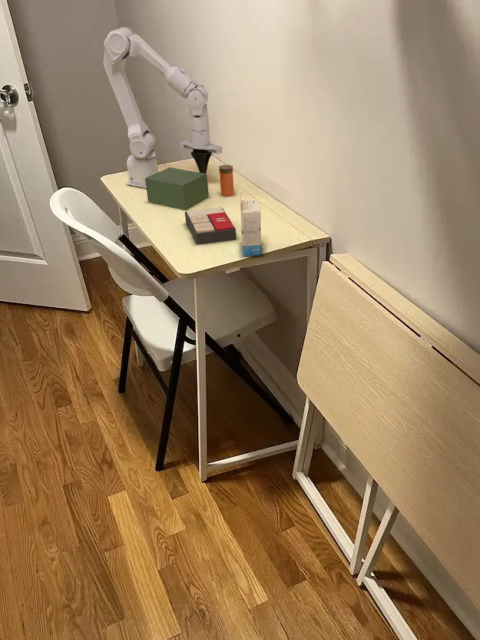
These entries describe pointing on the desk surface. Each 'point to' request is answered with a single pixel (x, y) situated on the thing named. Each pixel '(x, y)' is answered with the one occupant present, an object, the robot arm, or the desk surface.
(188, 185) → the cabinet
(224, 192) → the spice jar
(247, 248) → the ink box
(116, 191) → the desk surface
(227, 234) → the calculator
